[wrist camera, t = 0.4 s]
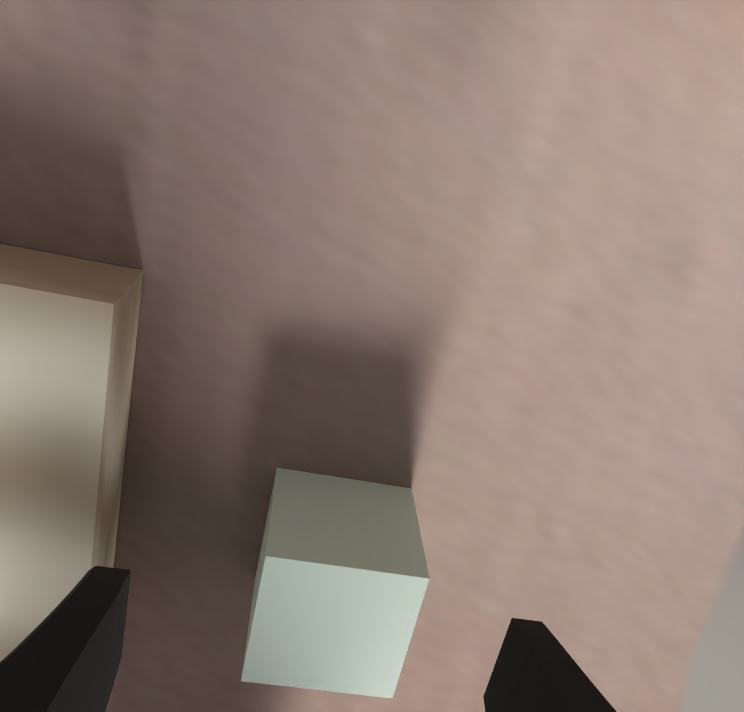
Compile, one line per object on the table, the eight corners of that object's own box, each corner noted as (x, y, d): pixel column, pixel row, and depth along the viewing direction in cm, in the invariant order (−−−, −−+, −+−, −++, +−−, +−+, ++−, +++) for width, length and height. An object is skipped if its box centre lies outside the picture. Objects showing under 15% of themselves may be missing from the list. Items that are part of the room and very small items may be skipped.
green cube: (381, 592, 25) (392, 698, 21) (255, 576, 24) (240, 681, 20) (411, 487, 23) (429, 578, 19) (276, 466, 23) (265, 556, 18)
